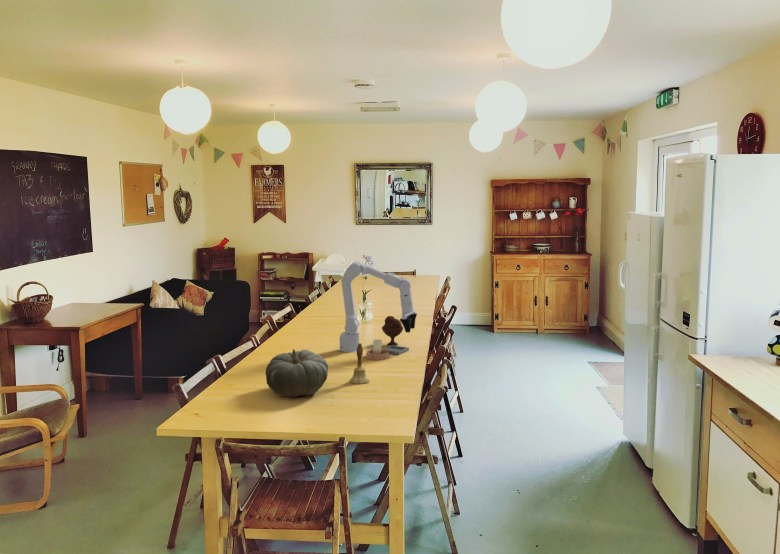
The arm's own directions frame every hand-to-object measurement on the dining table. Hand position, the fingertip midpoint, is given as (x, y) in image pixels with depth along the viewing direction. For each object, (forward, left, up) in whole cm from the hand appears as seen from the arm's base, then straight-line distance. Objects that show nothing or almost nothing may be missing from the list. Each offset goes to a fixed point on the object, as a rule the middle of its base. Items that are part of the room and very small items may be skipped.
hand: (410, 330), depth 301 cm
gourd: (-7, -78, -11) cm, 79 cm away
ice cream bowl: (-14, +7, -11) cm, 19 cm away
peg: (-7, -19, -10) cm, 23 cm away
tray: (-5, -6, -11) cm, 13 cm away
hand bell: (+6, -54, -11) cm, 55 cm away
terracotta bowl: (-7, -19, -11) cm, 23 cm away
